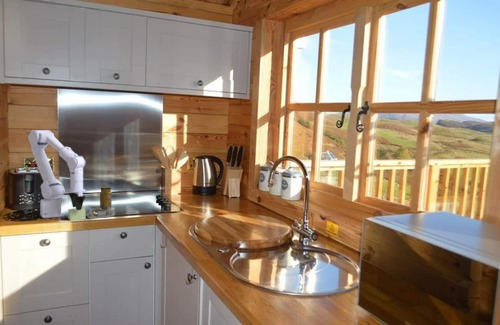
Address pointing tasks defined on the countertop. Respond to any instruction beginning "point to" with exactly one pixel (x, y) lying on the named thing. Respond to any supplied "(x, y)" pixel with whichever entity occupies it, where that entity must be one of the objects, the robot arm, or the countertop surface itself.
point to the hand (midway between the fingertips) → (77, 208)
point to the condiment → (105, 198)
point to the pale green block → (76, 214)
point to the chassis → (99, 213)
